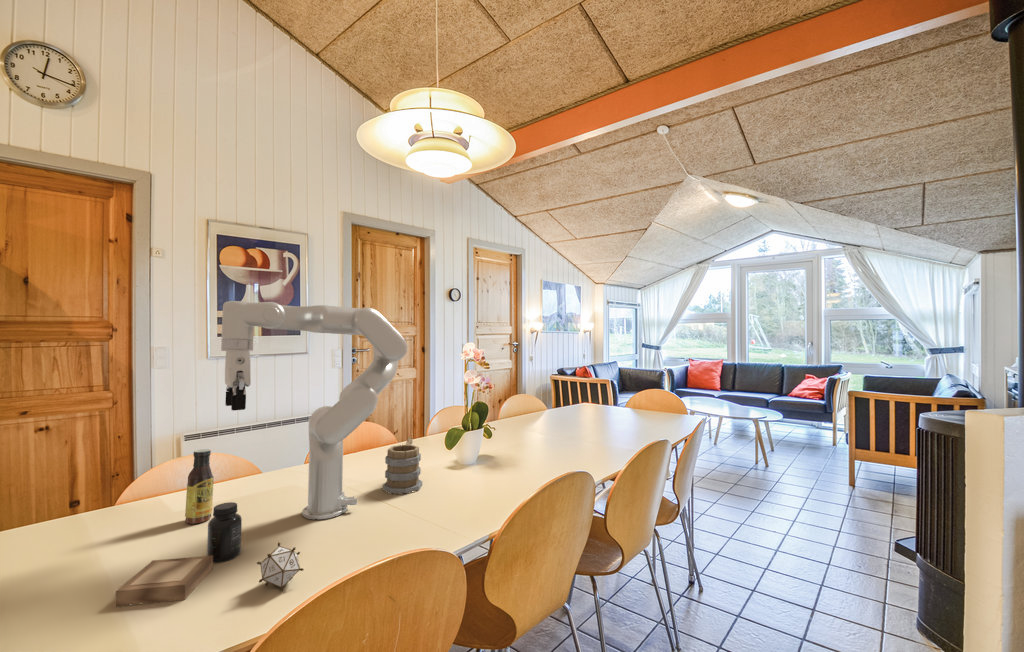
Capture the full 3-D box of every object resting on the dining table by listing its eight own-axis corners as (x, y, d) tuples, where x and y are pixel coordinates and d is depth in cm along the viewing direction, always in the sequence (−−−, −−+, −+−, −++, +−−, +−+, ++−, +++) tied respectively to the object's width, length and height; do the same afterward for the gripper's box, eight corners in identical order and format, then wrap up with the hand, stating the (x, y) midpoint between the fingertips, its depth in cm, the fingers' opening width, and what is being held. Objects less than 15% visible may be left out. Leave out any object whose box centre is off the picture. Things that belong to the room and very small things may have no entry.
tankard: (416, 494, 148) (417, 449, 148) (379, 494, 148) (380, 449, 148) (428, 476, 168) (429, 436, 168) (395, 475, 168) (396, 436, 168)
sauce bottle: (197, 526, 122) (199, 454, 123) (179, 524, 123) (181, 453, 124) (217, 516, 128) (219, 448, 129) (200, 514, 130) (201, 447, 130)
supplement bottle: (236, 546, 110) (238, 498, 111) (244, 556, 106) (245, 505, 106) (204, 555, 106) (205, 505, 106) (210, 566, 101) (211, 513, 101)
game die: (274, 600, 94) (271, 551, 100) (312, 584, 95) (308, 536, 100) (248, 600, 87) (246, 547, 92) (290, 583, 87) (286, 532, 93)
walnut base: (212, 568, 100) (213, 554, 100) (184, 599, 88) (185, 583, 88) (152, 574, 97) (152, 559, 97) (115, 606, 86) (115, 590, 86)
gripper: (259, 346, 118) (257, 410, 117) (246, 345, 131) (244, 402, 130) (226, 346, 113) (224, 413, 112) (216, 345, 126) (214, 405, 125)
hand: (235, 407), depth 121 cm, fingers open, 9 cm apart
